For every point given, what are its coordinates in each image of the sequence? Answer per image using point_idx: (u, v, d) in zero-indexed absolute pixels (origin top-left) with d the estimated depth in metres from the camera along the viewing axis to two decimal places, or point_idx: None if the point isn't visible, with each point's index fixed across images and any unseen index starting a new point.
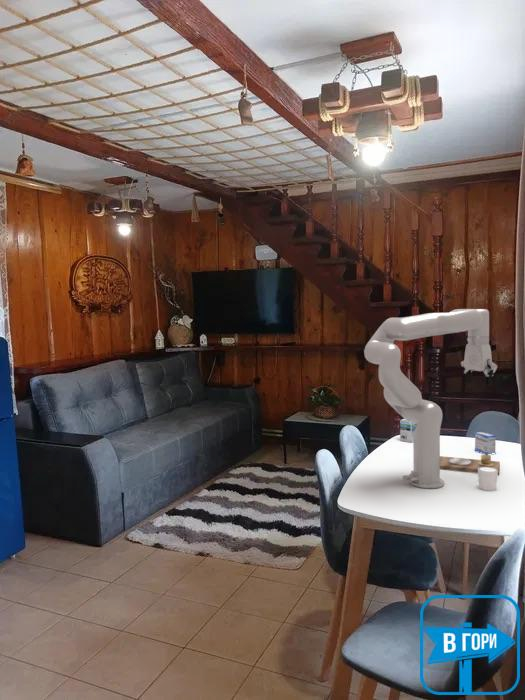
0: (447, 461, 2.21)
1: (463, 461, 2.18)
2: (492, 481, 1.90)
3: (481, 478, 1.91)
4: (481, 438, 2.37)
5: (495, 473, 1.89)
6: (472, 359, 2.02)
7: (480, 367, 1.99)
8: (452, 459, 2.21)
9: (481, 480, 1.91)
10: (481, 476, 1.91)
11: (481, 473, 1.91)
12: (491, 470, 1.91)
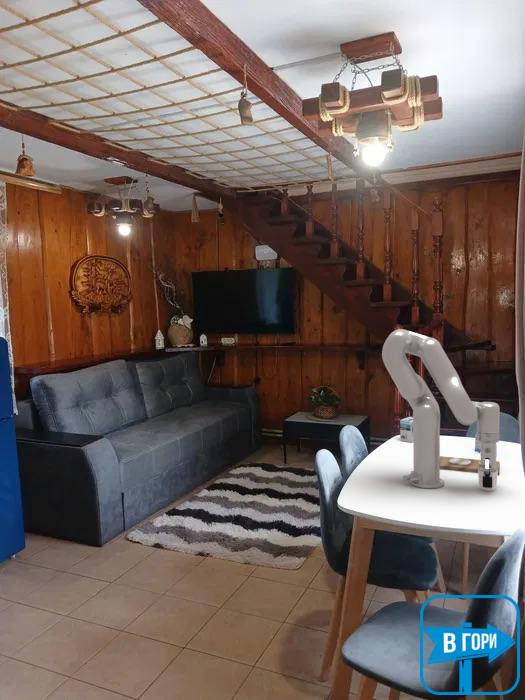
0: (447, 461, 2.21)
1: (463, 461, 2.18)
2: (492, 481, 1.90)
3: (481, 478, 1.91)
4: None
5: (495, 473, 1.89)
6: (496, 455, 1.90)
7: None
8: (452, 459, 2.21)
9: (481, 480, 1.91)
10: (481, 476, 1.91)
11: (481, 473, 1.91)
12: None
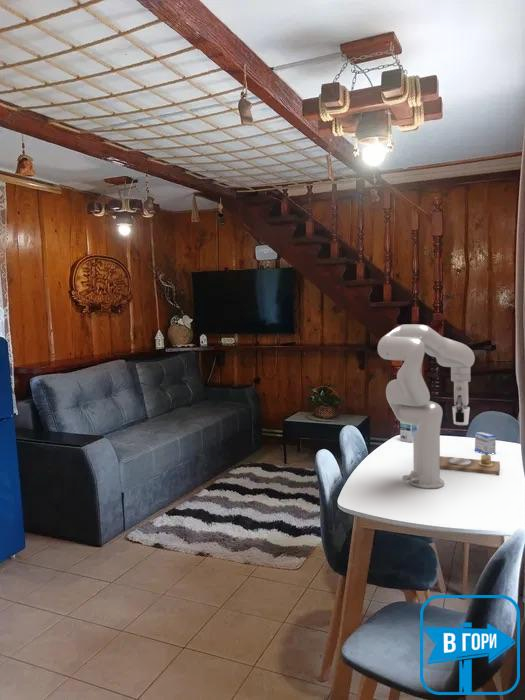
0: (447, 461, 2.21)
1: (463, 461, 2.18)
2: (464, 417, 2.14)
3: (455, 414, 2.16)
4: (481, 438, 2.37)
5: (467, 409, 2.14)
6: None
7: None
8: (452, 459, 2.21)
9: (455, 416, 2.16)
10: (455, 413, 2.16)
11: (455, 410, 2.16)
12: (464, 407, 2.16)
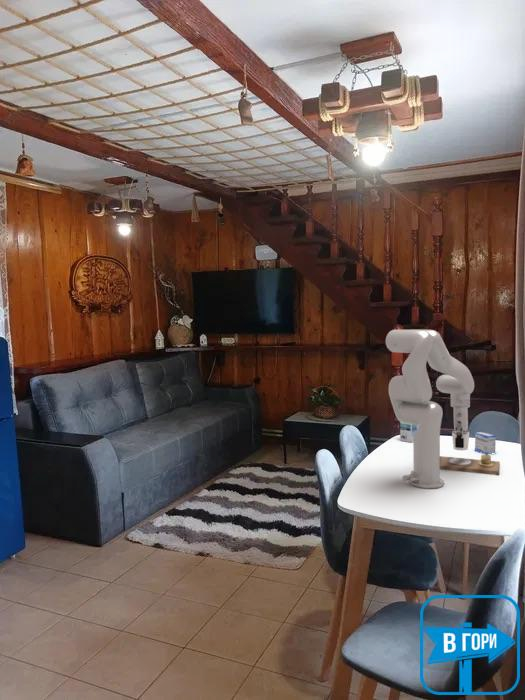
0: (447, 461, 2.21)
1: (463, 461, 2.18)
2: (464, 442, 2.16)
3: (454, 439, 2.17)
4: (481, 438, 2.37)
5: (467, 435, 2.15)
6: (467, 420, 2.16)
7: None
8: (452, 459, 2.21)
9: None
10: None
11: (454, 435, 2.17)
12: (463, 432, 2.17)
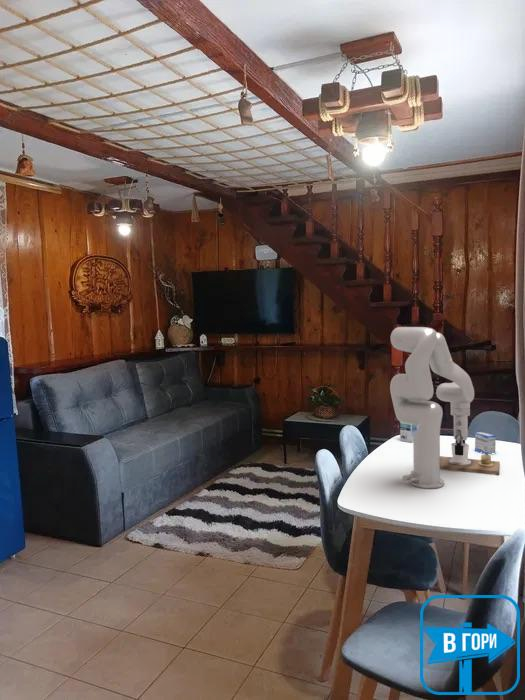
0: (447, 461, 2.21)
1: None
2: (463, 454, 2.16)
3: (454, 452, 2.17)
4: (481, 438, 2.37)
5: (466, 447, 2.15)
6: (467, 428, 2.17)
7: None
8: (452, 459, 2.21)
9: (454, 454, 2.17)
10: (454, 450, 2.17)
11: (454, 448, 2.17)
12: (463, 445, 2.17)
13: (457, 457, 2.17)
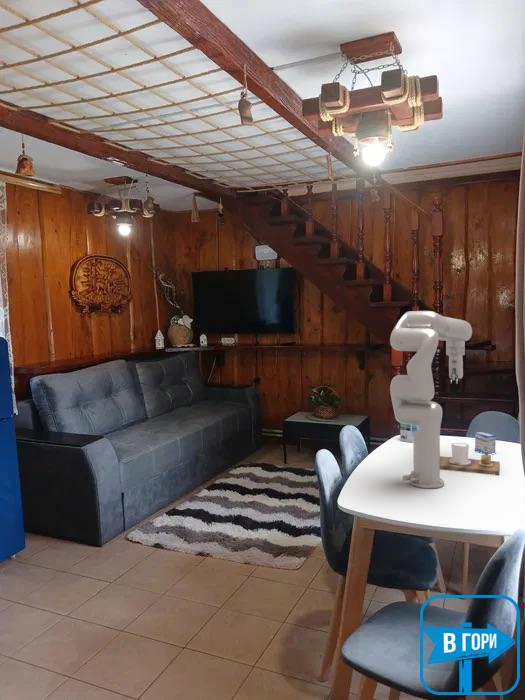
0: (447, 461, 2.21)
1: None
2: (464, 454, 2.16)
3: (454, 452, 2.17)
4: (481, 438, 2.37)
5: (466, 447, 2.15)
6: (462, 367, 2.24)
7: None
8: (452, 459, 2.21)
9: (454, 454, 2.17)
10: (454, 450, 2.17)
11: (454, 448, 2.17)
12: (463, 445, 2.17)
13: (457, 457, 2.17)
